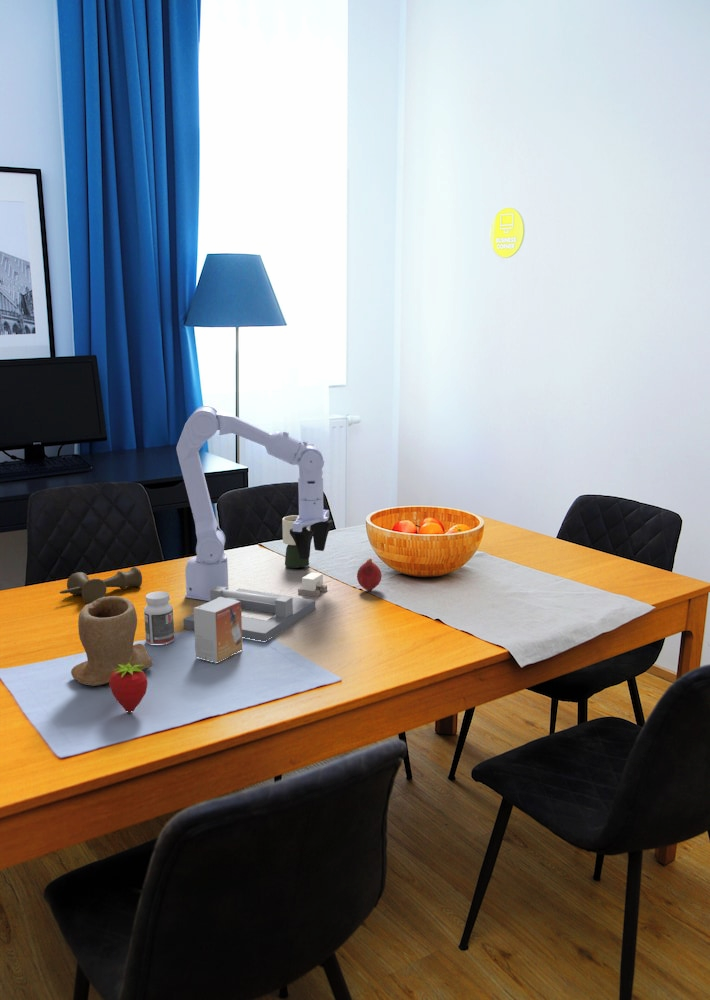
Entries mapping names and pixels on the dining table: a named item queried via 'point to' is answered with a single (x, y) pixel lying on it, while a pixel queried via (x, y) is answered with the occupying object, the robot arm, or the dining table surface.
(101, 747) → the dining table surface
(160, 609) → the pill bottle
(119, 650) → the stone cup
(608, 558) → the dining table surface
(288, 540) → the character mug
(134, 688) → the strawberry
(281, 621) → the grey piece
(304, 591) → the white notched u-block
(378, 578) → the onion
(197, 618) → the small box
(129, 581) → the kendama
